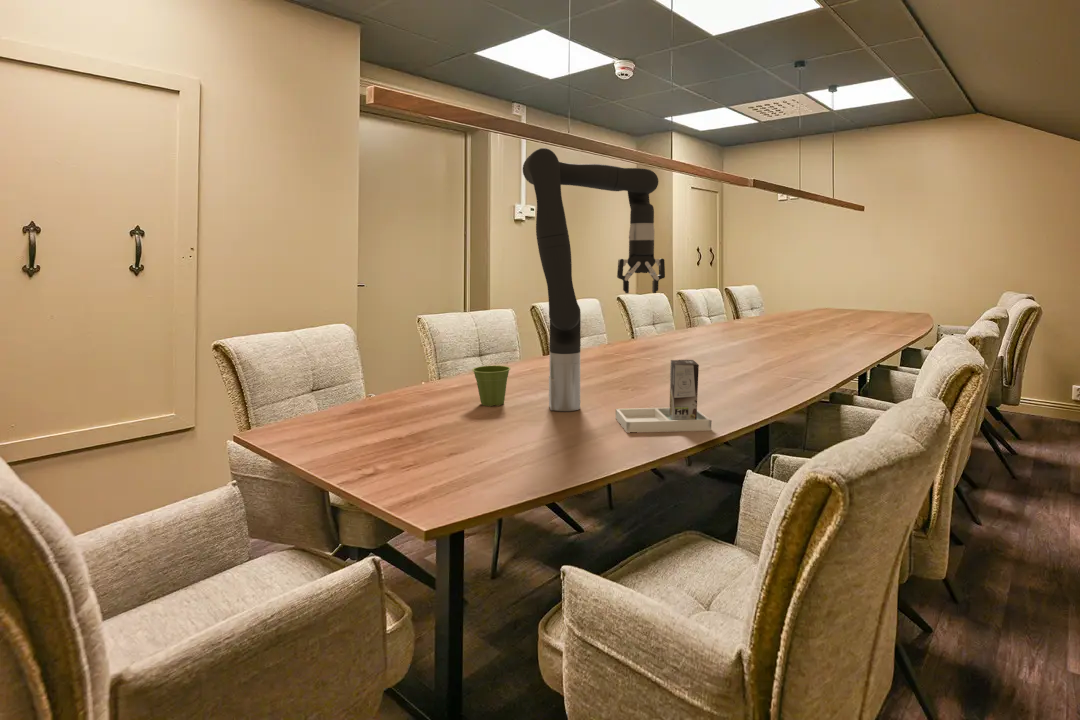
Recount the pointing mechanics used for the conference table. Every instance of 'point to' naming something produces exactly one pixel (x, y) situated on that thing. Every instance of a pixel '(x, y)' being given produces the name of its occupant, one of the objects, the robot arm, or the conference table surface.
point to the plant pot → (491, 384)
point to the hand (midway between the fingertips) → (640, 293)
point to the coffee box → (683, 389)
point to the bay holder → (659, 421)
